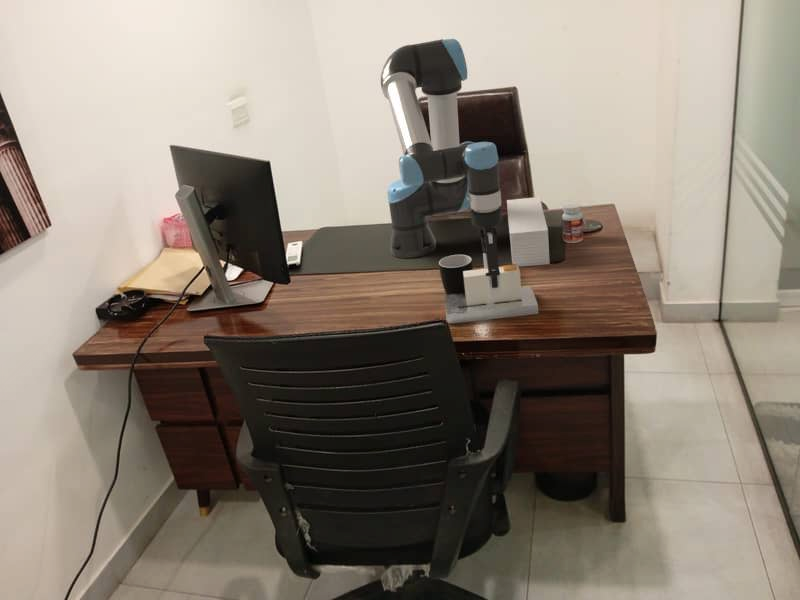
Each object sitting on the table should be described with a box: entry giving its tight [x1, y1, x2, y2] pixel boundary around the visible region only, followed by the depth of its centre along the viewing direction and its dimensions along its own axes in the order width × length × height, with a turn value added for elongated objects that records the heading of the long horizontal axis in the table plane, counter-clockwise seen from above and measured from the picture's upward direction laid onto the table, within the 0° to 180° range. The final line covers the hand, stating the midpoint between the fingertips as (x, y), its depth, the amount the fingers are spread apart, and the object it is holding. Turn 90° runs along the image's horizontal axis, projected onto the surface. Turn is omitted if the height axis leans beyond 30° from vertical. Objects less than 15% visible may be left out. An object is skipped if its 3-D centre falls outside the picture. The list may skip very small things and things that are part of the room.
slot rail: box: [443, 285, 539, 325], centre depth 174 cm, size 12×23×2 cm, turn 89°
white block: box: [463, 264, 522, 307], centre depth 172 cm, size 4×14×10 cm, turn 89°
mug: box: [438, 254, 474, 295], centre depth 184 cm, size 12×9×10 cm
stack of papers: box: [506, 196, 551, 267], centre depth 208 cm, size 32×11×11 cm, turn 173°
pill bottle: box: [561, 202, 584, 244], centre depth 207 cm, size 6×6×11 cm
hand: (492, 286), depth 172 cm, fingers open, 13 cm apart
